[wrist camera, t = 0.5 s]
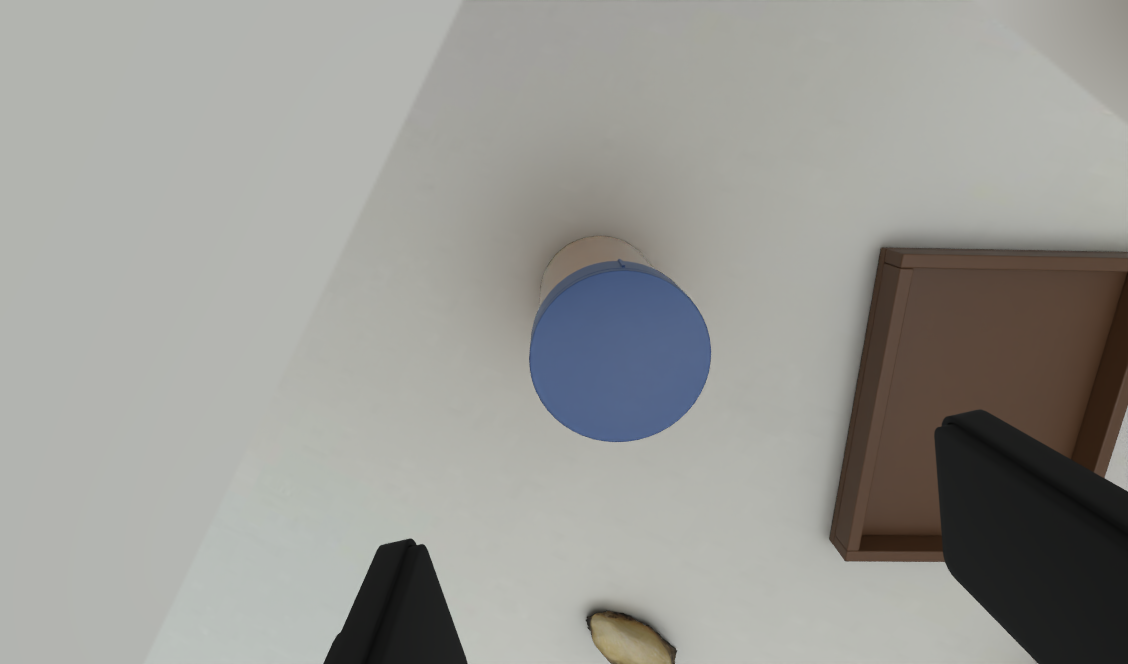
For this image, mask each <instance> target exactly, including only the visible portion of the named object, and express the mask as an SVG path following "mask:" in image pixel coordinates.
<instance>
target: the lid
mask: <svg viewBox="0 0 1128 664" xmlns="http://www.w3.org/2000/svg"><path fill="white" fill-rule="evenodd" d="M529 362H530V372H531V377H532V381H533V384H534V387H535V390H536V392H537V394H538V396H539V398H540V400H541V402H542V403H543V404H544V406H545V407H546V409H547V410H548V411H549V412H550V413H551V414H552V415H553V416H554V418H556V419H557V420H558V421H559V422H560V423H562V424H563V425H564V426H566V427H567V428H569V429H571V430H572V431H574V432H576V433H578V434H580V435H583V436H586V437H589V438H592V439H596V440H601V441H608V442H627V441H633V440H639V439H642V438H646V437H649V436H652V435H654V434H656V433H659V432H661V431H663V430H664V429H666V428H668V427H670V426H671V425H672V424H674V423H675V422H676V421H678V420H679V419H680V418H681V417H682V416H683V415H684V414H685V413H686V412H687V411H688V410H689V409H690V408H691V407H692V405H693V404H694V403H695V401H696V400H697V398H698V397H699V395H700V393H701V391H702V389H703V387H704V385H705V383H706V379H707V376H708V373H709V368H710V362H711V345H710V338H709V334H708V330H707V327H706V324H705V322H704V319H703V317H702V315H701V314H700V312H699V310H698V308H697V307H696V306H695V304H694V303H693V302H692V301H691V299H690V298H689V297H688V296H687V295H686V294H685V293H684V292H683V291H682V290H681V289H680V288H679V287H678V286H677V285H676V284H675V283H674V282H673V281H672V280H671V279H670V278H668V277H667V276H665V275H664V274H663V273H661V272H659V271H657V270H655V269H653V268H651V267H648V266H646V265H643V264H639V263H635V262H629V261H622V260H621V259H618V261H606V262H601V263H596V264H592V265H589V266H586V267H584V268H582V269H579V270H577V271H575V272H573V273H572V274H570V275H569V276H567V277H566V278H564V279H563V280H562V281H561V282H559V283H558V284H557V285H556V286H555V287H554V288H553V289H552V290H551V291H550V293H549V294H548V295H547V297H546V298H545V299H544V301H543V302H542V304H541V306H540V308H539V310H538V312H537V315H536V317H535V320H534V324H533V328H532V333H531V344H530V356H529Z"/></svg>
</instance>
